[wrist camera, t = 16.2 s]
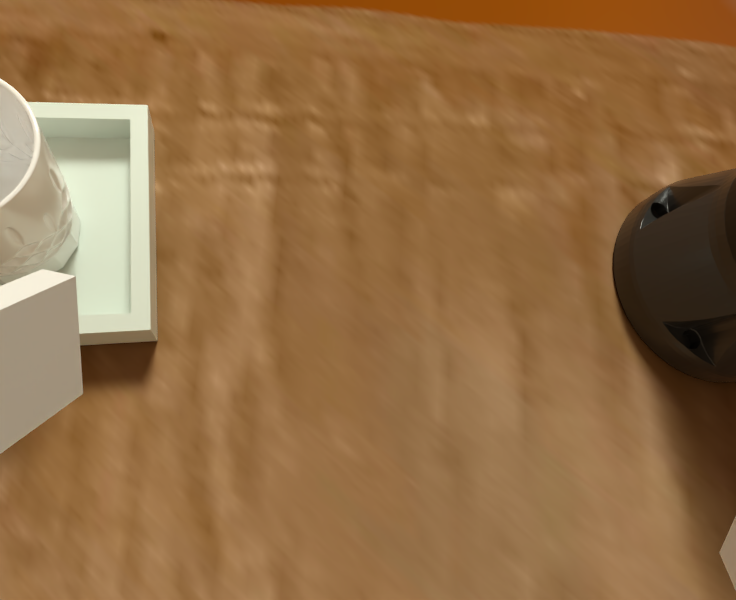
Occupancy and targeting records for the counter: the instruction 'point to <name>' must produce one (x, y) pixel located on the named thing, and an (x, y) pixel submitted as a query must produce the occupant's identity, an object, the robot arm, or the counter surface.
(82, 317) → the tray
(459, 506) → the counter surface
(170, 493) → the counter surface
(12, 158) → the white cup
